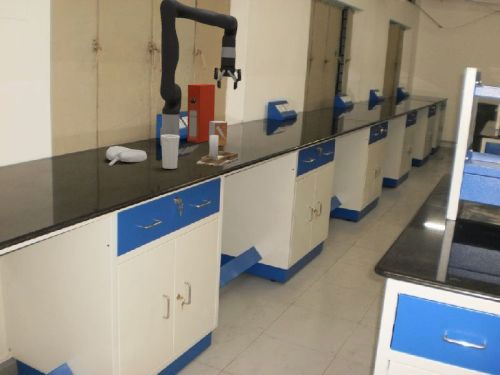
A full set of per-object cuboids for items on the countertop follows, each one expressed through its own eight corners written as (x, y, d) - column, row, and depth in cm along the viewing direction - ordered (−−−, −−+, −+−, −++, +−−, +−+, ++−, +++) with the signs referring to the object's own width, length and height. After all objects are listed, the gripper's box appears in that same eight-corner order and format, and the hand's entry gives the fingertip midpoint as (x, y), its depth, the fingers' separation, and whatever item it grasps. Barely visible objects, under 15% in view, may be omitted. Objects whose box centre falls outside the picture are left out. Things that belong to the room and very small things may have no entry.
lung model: (151, 158, 261) (129, 173, 238) (117, 155, 264) (92, 170, 241) (150, 144, 259) (128, 158, 236) (116, 142, 262) (91, 155, 239)
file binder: (186, 141, 312) (187, 84, 304) (201, 138, 327) (203, 83, 319) (199, 143, 308) (200, 85, 301) (213, 139, 324) (215, 84, 316)
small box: (214, 146, 301) (214, 122, 298) (208, 144, 306) (209, 121, 303) (226, 145, 306) (227, 122, 303) (221, 143, 311) (221, 120, 308)
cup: (170, 170, 235) (171, 137, 232) (156, 168, 239) (156, 135, 236) (182, 168, 242) (183, 135, 239) (168, 165, 246) (169, 133, 243)
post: (207, 161, 254) (208, 135, 252) (211, 160, 258) (211, 134, 255) (215, 162, 253) (216, 136, 250) (218, 160, 257) (219, 135, 254)
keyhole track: (196, 163, 253) (196, 157, 252) (215, 156, 273) (215, 150, 272) (220, 166, 249) (221, 160, 248) (237, 158, 269) (238, 153, 268)
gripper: (212, 55, 277) (211, 88, 281) (238, 57, 273) (237, 90, 277) (218, 56, 284) (217, 87, 288) (244, 57, 280) (242, 89, 284)
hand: (227, 88), depth 282 cm, fingers open, 8 cm apart
